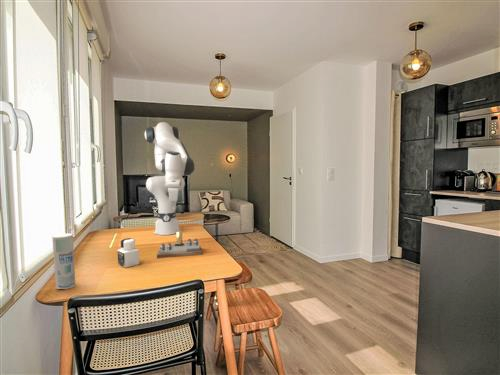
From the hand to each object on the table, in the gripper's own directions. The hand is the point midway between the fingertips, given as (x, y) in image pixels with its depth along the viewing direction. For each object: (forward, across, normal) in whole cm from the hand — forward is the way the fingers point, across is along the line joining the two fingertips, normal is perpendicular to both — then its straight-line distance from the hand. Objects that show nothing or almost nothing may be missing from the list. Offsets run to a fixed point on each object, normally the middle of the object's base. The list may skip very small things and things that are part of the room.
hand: (174, 207), depth 158 cm
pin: (+21, +8, +3) cm, 23 cm away
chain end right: (+21, +8, +6) cm, 23 cm away
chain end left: (+21, +8, -1) cm, 23 cm away
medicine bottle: (+23, +20, -20) cm, 37 cm away
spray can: (+22, +41, -39) cm, 61 cm away
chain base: (+23, +8, +3) cm, 24 cm away
